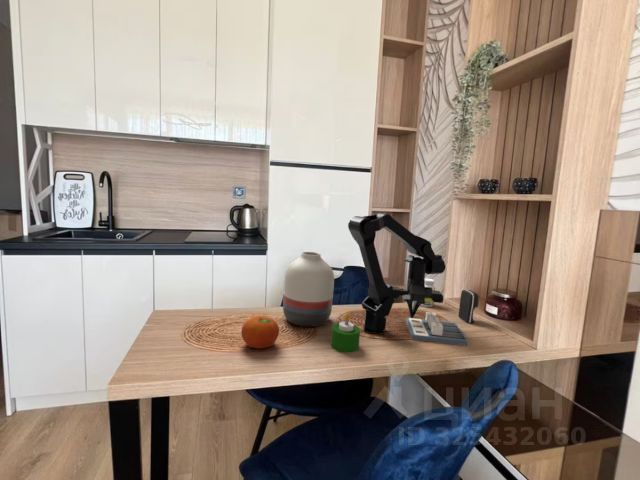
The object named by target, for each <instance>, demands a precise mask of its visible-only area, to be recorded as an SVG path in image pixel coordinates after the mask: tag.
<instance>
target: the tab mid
mask: <svg viewBox="0 0 640 480" xmlns="http://www.w3.org/2000/svg"><path fill="white" fill-rule="evenodd" d="M440 321H441V320H440V319H439V317H436V318H435V317H429V320H428V327H429V329H431V324H432V322H434V323H440Z"/></svg>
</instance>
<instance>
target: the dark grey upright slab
mask: <svg viewBox="0 0 640 480" xmlns="http://www.w3.org/2000/svg"><path fill="white" fill-rule="evenodd" d="M479 299H480V297H479V294H478V293H477V292H475V291H474V290H470V289H463V290H461V293H460V299H459V308H458V309H459V311H458V317H459V319H461V320H462V321H464V322H466V323H468V324H472V323H474V322H475V320H474V316H473V315H474V311H475V309H476V308H478V307H479Z"/></svg>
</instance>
